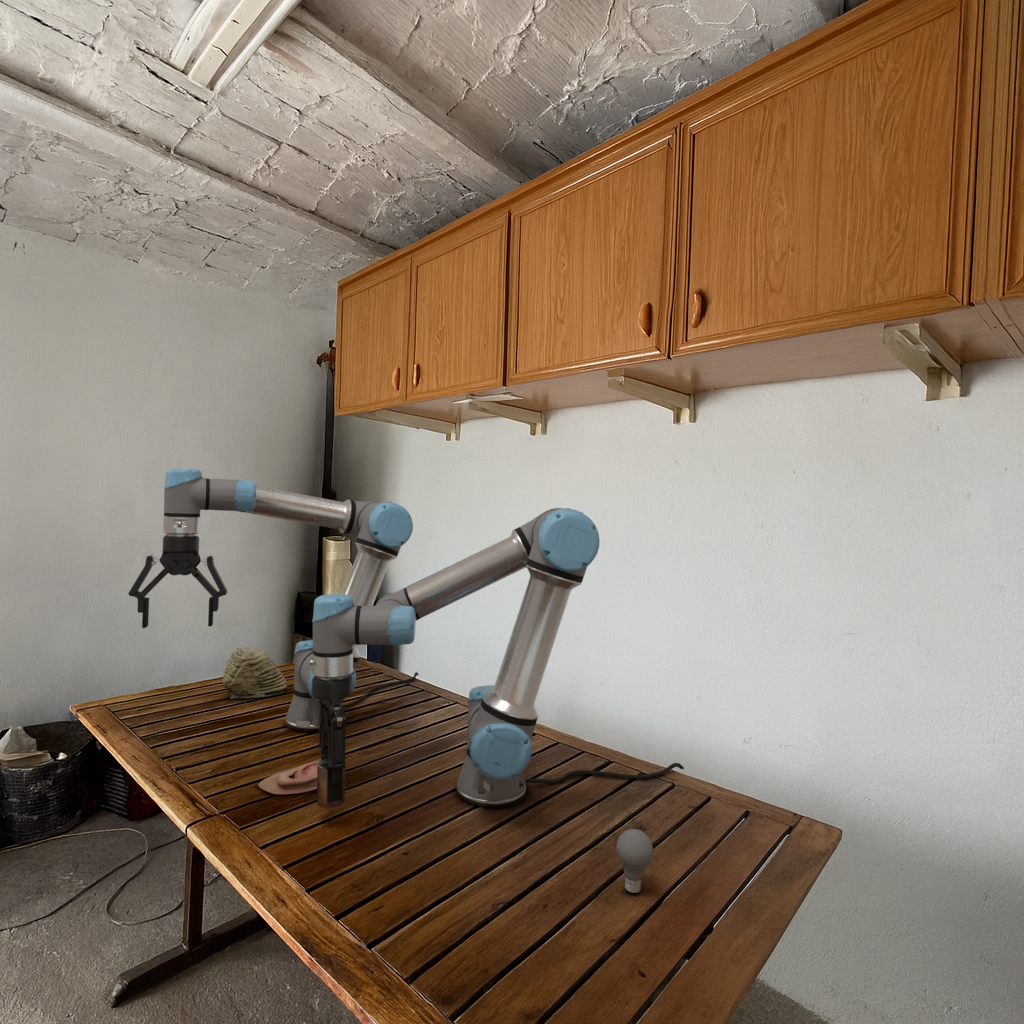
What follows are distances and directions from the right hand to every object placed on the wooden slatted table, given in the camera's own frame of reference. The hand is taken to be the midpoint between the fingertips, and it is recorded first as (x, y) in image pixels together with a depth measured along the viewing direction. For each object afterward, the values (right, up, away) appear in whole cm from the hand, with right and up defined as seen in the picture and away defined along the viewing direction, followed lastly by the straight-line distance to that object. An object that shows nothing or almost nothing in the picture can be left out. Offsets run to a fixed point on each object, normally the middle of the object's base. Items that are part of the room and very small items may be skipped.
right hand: (331, 793), depth 123 cm
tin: (0, -1, 0) cm, 1 cm away
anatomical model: (-13, -5, +16) cm, 21 cm away
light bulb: (+55, -9, -17) cm, 59 cm away
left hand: (-43, +28, +24) cm, 56 cm away
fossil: (-45, -2, +75) cm, 88 cm away
